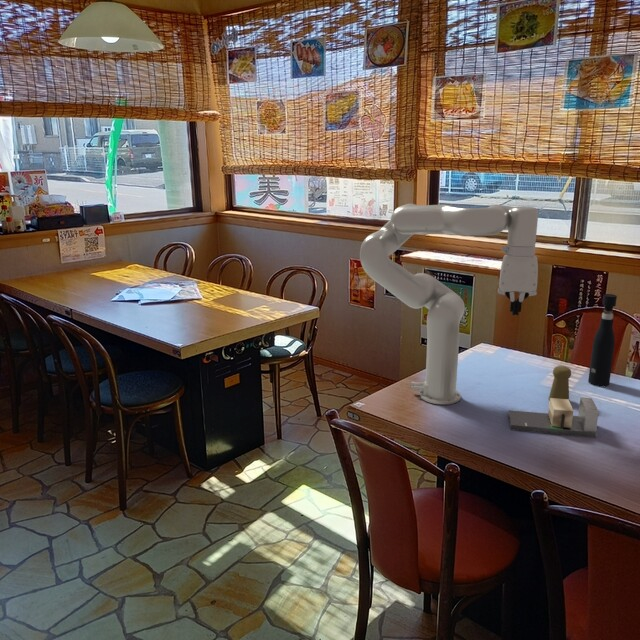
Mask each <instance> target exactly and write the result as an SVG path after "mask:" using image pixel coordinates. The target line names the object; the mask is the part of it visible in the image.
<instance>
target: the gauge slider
mask: <svg viewBox="0 0 640 640" xmlns="http://www.w3.org/2000/svg"><path fill="white" fill-rule="evenodd" d="M548 402H549V404H548V410H547V411H548V415H549V418H550V421H551V424H552V426H556V427H561V428H564V427H567V428H571V427H572V419H573V416H574V409H573V406H572V404H571V402H570V398H569V399H557V398H550V401H548Z"/></svg>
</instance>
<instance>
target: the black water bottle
mask: <svg viewBox="0 0 640 640" xmlns="http://www.w3.org/2000/svg"><path fill="white" fill-rule="evenodd" d="M617 299H618V295H616V294H611V293H606V294H603V298H602V306H603V307H604V308H603V312H602V313H601V317H600V320H599V321H600V322H599V327H598V328H597V331H596V332H595V335H594V338H593V340H592V349H591V357H590V364H589V372H588V381H587V382H588V384H590V385H592V386H595V387H600V386H603V388H604V386H605V387H608V386H610V381H611V376H612V375H611V373H612V367H613V360H614V351H615V346H616V345H615V344H616V337H615V334H614V333H615V332H614V328H613V327H614V313H613V312H614V310H613V309H614V307H616V306H617V305H616V304H617Z"/></svg>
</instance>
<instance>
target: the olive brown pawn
mask: <svg viewBox="0 0 640 640" xmlns="http://www.w3.org/2000/svg"><path fill="white" fill-rule="evenodd" d="M552 375H553V382H552V385H551V388H550V392H549V395H548V402H550V398H557V399H569V400H570V387H569V386H570V385H569V383H570V382H569V381H570V380H569V379H570V377H572V370H571V369H570V367H567V366H565V365H558V366H555V367H554V368H553V371H552Z"/></svg>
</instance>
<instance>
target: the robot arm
mask: <svg viewBox="0 0 640 640" xmlns="http://www.w3.org/2000/svg"><path fill="white" fill-rule="evenodd" d="M538 219H539V211H538V209H537V208H536V207H533V206H523V205H521V206H520V205H519V206H509V205H503V204H493V205H490V206H488V207H483V208H482V207H478V208H477V207H475V208H474V207H473V208H469V207H467V208H465V207H464V208H463V207H462V208H461V207H455V206H452V205H449V204H430V205H429V204H426V205H425V204H424V205H423V204H422V205H421V204H420V205H418V204H415V203H406V204H404V205H403V204H402V205H400V206H398V207H396V209H394V210H393V212H392V214H391V216H390V220H389V221H387V222H386V223H385V224H384V225H383V226H382V227H381V228H380V229H378V230H377V231H375V232H372V233H370V234H369V235H367V236H366V237H365V238H364V240H363V241H362V243H361V245H360V250H359V261H360V264H361V266H362V269H363V271H364V272H365V273H366V275H367V276H368V277H369V278H370V279H371V280H373V281H375V282H376V283H377V284H378V285H380V286H381V287H383V288H384V289H385V290H387V291H388V293H390V294H391V295H393V296H394V297H396V298H397V299H398V300H400V301H401V302H402V303H404V305H406V306H408V307H409V308H411V309H415V310H417V309H421V308H424V307H425V308H426V309H428V311H427V316H426V332H427V334H426V335H427V336H426V339H427V340H426V361H425V363H426V364H425V365H426V366H425V378H424V381H421V382H417V381H411V382H410V388H411V389H413V390H414V391H419V397H420V398H421V400H423V401H425V402H426V403H430V404H435V405H443V406H444V405H453V404H455V403H458V402H459V401H461V399H462V398H461V396H462V395H461V393H460V391H458V390H457V381H458V379H457V378H458V367H459V366H458V364H459V346H460V324H461V323H460V322H461V320H462V317H463V316H464V313H465V309H466V308H465V307H466V306H465V302H464V300H463V298H461V297H460V295H459V294H457V293H455V292H454V290H452V289H450V288H449V287H448V286H446V285H445V284H444V283H443V282H441V281H439V280H438V279H437V278H435V277H433V276H431V275H430V274H428V273H425V272H418V273H416V274H413V273H411V272H410V271H409V270H407V269H406V268H405V267H404V266H402V265H401V264H399V263H397V262H395V261H393V260H392V259H391V258H390V257H389V256H391V255H393V254H394V253H395V252H396V251H397V250H399V248H401V247H402V246H403V245H404V244H405V243H406V242H407V241H408V240H409V239H410V238H411V237H412V236H413V235H449V236H468V237H469V236H470V237H471V236H474V237H475V236H476V237H477V236H495V235H498V234H500V233H502V232H503V231H507V241H506V242H507V243H506V245H505V246H501V248H500V249H501V252H504V253H505V254H504V255H503V257H502V261H501V266H500V271H499V272H500V273H499V280H498V282H499V283H498V288H497V294H499V295H501V296H502V295H503V296H505V297H507V298H508V300H509V301H510V303H509V312H511V315H512V316H519V313H521V312H522V304H523V301H525V300H526V299H527V298H529V297H532V296H533V297H534V296H537V294H538V293H537V292H538V291H537V290H538V289H537V288H538V279H539V278H538V277H539V275H538V274H539V273H538V272H539V263H538V257H537V256H536V252H535V251H536V242H537V240H536V239H537V231H538V222H539V221H538ZM515 293H518V297H517V299H516V297H515Z"/></svg>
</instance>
